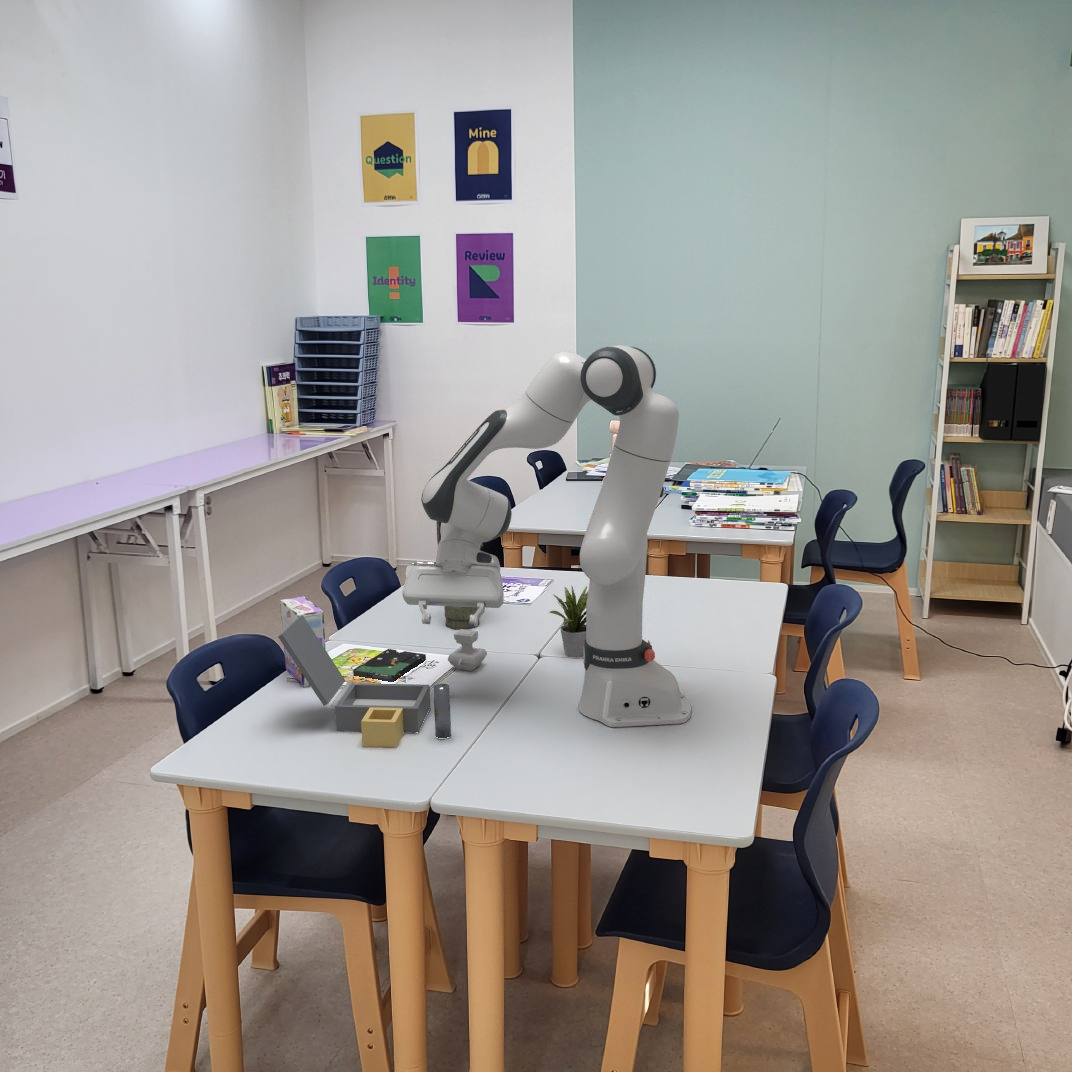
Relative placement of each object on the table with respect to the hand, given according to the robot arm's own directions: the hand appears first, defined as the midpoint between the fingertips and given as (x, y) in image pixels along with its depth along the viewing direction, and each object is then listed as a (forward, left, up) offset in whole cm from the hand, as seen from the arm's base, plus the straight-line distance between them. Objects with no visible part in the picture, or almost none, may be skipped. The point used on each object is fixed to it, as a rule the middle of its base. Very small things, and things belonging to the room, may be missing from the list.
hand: (449, 624), depth 195 cm
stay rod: (0, +12, -18) cm, 22 cm away
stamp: (+1, -24, -19) cm, 30 cm away
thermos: (+7, -54, -18) cm, 57 cm away
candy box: (+36, -17, -19) cm, 44 cm away
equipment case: (+13, +5, -18) cm, 23 cm away
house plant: (-23, -33, -18) cm, 44 cm away
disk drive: (+18, -21, -19) cm, 33 cm away
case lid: (+26, +5, -6) cm, 27 cm away
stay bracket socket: (+11, +14, -18) cm, 26 cm away
